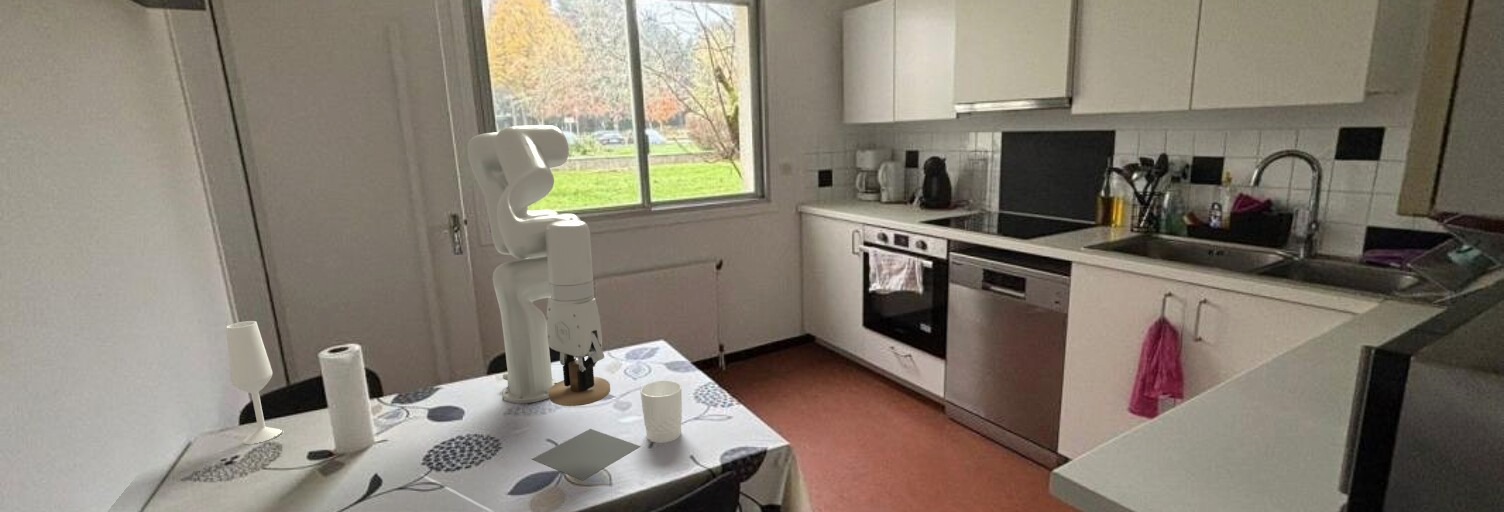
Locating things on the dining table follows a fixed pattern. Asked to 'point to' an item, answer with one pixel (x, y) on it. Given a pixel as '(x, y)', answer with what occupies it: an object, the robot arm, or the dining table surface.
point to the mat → (586, 454)
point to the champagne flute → (250, 371)
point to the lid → (573, 395)
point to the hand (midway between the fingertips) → (579, 385)
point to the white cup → (662, 410)
